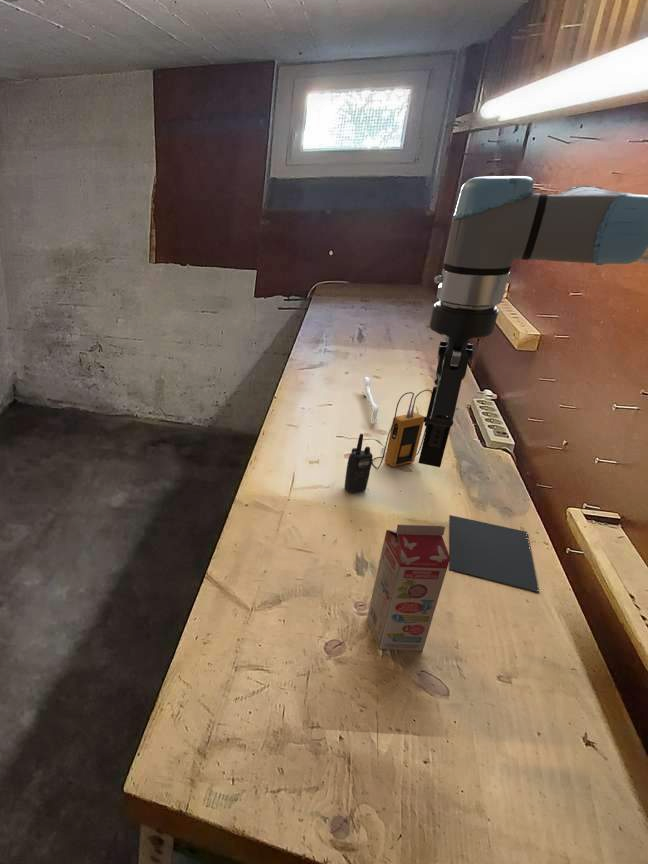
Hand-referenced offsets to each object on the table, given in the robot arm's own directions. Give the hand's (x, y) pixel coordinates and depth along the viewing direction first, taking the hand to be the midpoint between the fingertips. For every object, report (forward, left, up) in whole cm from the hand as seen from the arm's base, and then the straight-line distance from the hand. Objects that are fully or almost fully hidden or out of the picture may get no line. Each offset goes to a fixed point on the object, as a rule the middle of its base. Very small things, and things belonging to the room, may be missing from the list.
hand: (431, 444), depth 84 cm
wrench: (+14, -95, -28) cm, 99 cm away
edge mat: (-16, -26, -32) cm, 44 cm away
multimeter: (+5, -59, -33) cm, 67 cm away
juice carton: (-1, +6, -33) cm, 33 cm away
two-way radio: (+11, -39, -33) cm, 52 cm away
